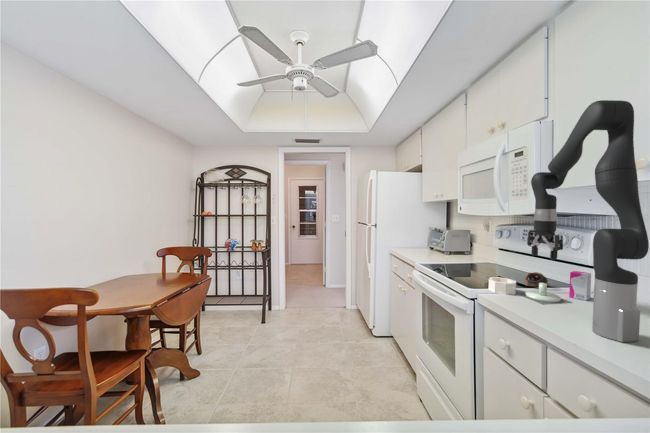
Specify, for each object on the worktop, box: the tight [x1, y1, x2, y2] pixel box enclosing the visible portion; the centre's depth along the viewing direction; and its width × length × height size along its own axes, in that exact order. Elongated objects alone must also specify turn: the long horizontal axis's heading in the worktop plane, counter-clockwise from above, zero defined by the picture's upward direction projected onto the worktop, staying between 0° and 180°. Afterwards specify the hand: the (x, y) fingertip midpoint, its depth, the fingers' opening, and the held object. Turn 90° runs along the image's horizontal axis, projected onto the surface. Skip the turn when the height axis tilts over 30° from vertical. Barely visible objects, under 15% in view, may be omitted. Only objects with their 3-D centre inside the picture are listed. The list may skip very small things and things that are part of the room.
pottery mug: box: [525, 272, 550, 287], centre depth 138 cm, size 12×10×8 cm
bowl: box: [487, 276, 517, 296], centre depth 130 cm, size 11×11×5 cm
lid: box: [524, 283, 562, 303], centre depth 120 cm, size 12×12×6 cm
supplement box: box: [568, 270, 592, 302], centre depth 120 cm, size 6×6×12 cm
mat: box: [514, 292, 574, 306], centre depth 120 cm, size 14×14×1 cm
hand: (543, 257), depth 119 cm, fingers open, 8 cm apart
